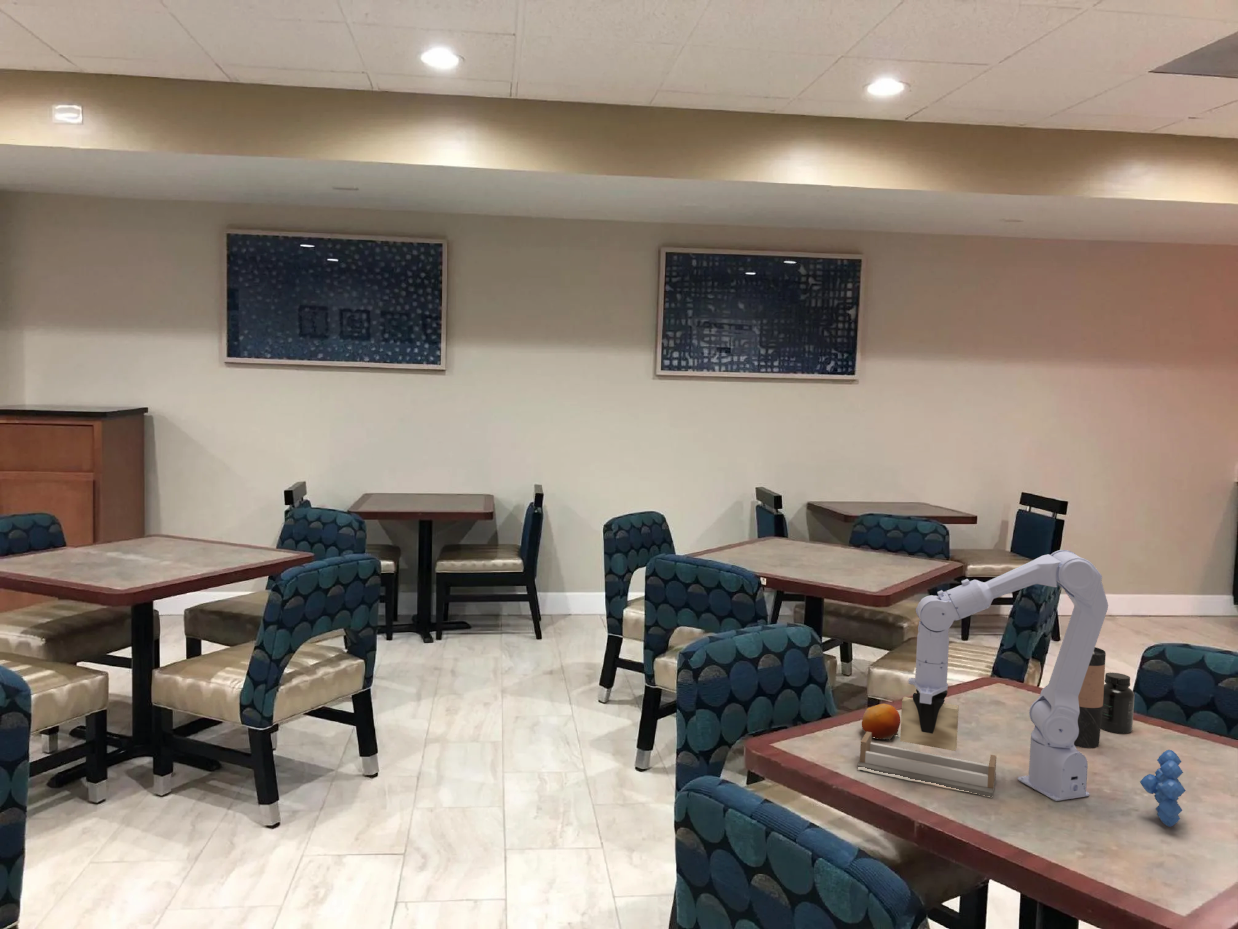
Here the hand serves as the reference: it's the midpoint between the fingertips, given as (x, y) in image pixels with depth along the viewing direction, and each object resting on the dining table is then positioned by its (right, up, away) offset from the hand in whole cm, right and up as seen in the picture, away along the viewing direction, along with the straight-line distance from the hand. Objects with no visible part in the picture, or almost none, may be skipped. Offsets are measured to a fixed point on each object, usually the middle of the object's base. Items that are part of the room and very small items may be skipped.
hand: (928, 729), depth 167 cm
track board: (0, -9, +1) cm, 9 cm away
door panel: (0, -3, 0) cm, 3 cm away
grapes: (+35, -11, -16) cm, 40 cm away
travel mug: (+39, -9, +19) cm, 44 cm away
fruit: (-3, -8, +20) cm, 21 cm away
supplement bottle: (+51, -8, +27) cm, 58 cm away
